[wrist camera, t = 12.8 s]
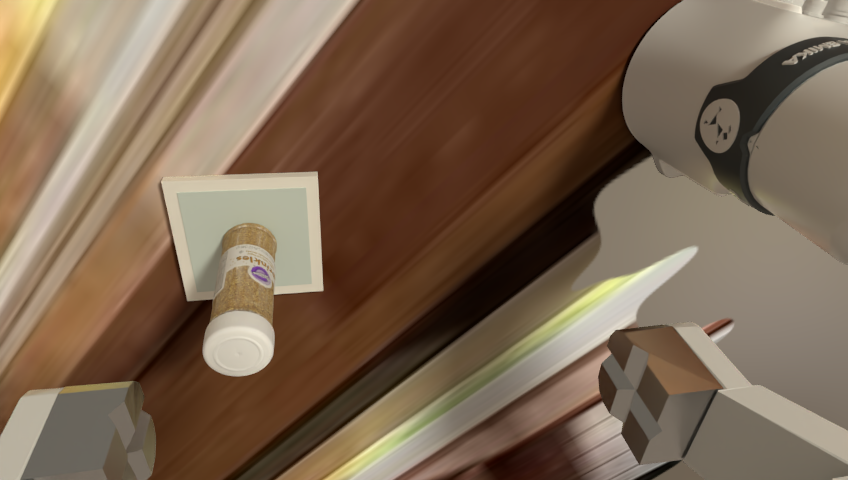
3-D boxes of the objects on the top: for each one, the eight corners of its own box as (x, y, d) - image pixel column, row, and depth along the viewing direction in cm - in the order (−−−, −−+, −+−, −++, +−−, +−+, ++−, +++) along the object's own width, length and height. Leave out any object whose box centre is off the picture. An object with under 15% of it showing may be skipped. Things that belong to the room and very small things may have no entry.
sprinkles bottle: (285, 231, 48) (284, 339, 37) (265, 271, 50) (259, 385, 39) (232, 213, 46) (215, 321, 35) (213, 255, 48) (191, 370, 37)
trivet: (317, 171, 47) (317, 176, 46) (322, 285, 53) (323, 291, 52) (162, 177, 44) (160, 182, 43) (188, 295, 51) (187, 301, 50)
